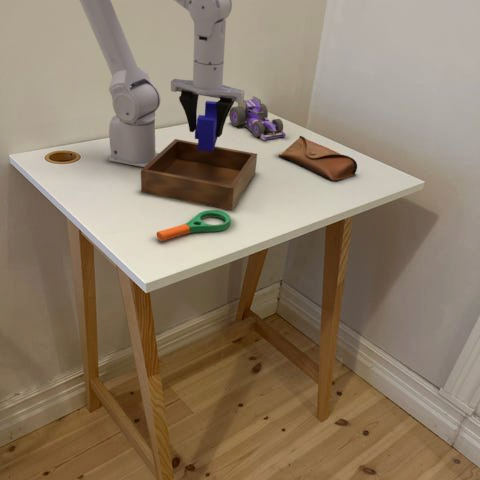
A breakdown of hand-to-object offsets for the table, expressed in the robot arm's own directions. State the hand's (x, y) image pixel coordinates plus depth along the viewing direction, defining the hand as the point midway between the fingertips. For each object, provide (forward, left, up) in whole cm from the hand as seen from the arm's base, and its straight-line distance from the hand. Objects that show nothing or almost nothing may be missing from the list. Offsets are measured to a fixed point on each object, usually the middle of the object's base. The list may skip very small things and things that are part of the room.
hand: (205, 132), depth 106 cm
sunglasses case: (+22, +17, -10) cm, 29 cm away
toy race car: (+4, +34, -10) cm, 36 cm away
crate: (+1, -3, -9) cm, 10 cm away
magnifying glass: (+6, -23, -10) cm, 26 cm away
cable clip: (0, 0, -2) cm, 2 cm away
